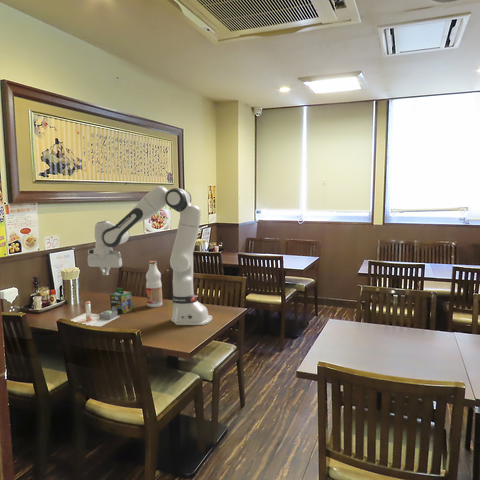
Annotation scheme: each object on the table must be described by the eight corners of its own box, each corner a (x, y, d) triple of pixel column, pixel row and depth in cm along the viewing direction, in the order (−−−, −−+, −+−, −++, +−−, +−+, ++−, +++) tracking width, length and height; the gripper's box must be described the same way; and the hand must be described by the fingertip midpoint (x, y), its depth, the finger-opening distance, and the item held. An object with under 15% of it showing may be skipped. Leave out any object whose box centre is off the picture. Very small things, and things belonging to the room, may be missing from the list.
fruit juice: (159, 307, 237) (157, 262, 234) (144, 307, 239) (142, 262, 235) (164, 303, 246) (162, 260, 243) (150, 303, 248) (148, 260, 245)
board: (120, 316, 221) (120, 310, 221) (100, 327, 204) (100, 320, 204) (85, 314, 228) (84, 308, 228) (63, 324, 211) (62, 317, 211)
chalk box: (133, 310, 233) (131, 286, 231) (122, 314, 225) (120, 290, 223) (121, 308, 237) (120, 285, 236) (110, 313, 229) (108, 288, 227)
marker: (92, 319, 215) (91, 301, 214) (89, 321, 212) (88, 302, 211) (88, 319, 216) (87, 301, 215) (85, 321, 213) (83, 302, 212)
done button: (113, 316, 220) (113, 310, 220) (109, 318, 216) (109, 312, 216) (107, 315, 221) (107, 310, 221) (103, 317, 217) (103, 312, 217)
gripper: (123, 249, 214) (125, 274, 216) (92, 249, 220) (94, 273, 222) (117, 251, 208) (118, 276, 210) (85, 250, 214) (86, 275, 216)
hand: (105, 274), depth 216 cm, fingers closed
